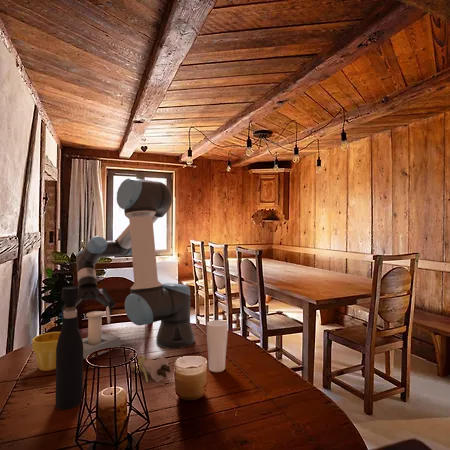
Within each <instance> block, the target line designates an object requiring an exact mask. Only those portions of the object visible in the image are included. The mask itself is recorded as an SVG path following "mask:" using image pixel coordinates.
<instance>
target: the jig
mask: <svg viewBox="0 0 450 450" xmlns="http://www.w3.org/2000/svg"><path fill="white" fill-rule="evenodd" d="M82 341H83V360H86V358H87V356H88V355H90V354H91V353H93V352H95V351H98V350H101V349H105V348H109V347H117V346H120V347H121V337H120V336H117V335H112V334H109V333H104V332H102V343H100V344H97V345H94V346H92V345H88V336H86V337H84V338H83V337H82ZM107 352H109V351H102V352H99V353H98V356H100V355H103V354H106V353H107ZM95 357H96V356H94V355H93V356H92V358H95Z"/></svg>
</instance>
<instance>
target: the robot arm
mask: <svg viewBox="0 0 450 450" xmlns="http://www.w3.org/2000/svg"><path fill="white" fill-rule="evenodd" d="M116 203H117V205H118V208H120V209H122V210H124V216H125V218H127V219H128V221H129V224H128V226H127V227H126V228H125V229H123V231H122V232H121V233H120V234H119V236H118V237H117V238H116V239H113V240H106V238H104V237H102V236H100V235H95V236H93V237H91V238H90V240H89V241H88V242H87V243H86V246H85V247H84V249H81V250H80V251H78V252H77V253H76V259H75V261H76V271H77V287H78V288H79V293H78V300H76V307H77V306H78V305H79V304H80V303H81V302H82V301H83V300H84V301H88V300H95V301H97V302H99V303H100V304H101V305H103V306H104V307H105V308H106V309H105V311H106V319H107V320H106V321H107V324H111V321H112V319H111V316H112V314H113V310H112V309H113V308H115V307H116V301H115V300H114V298H113V297H112V296H111V295H110V294H109V293H108V291H107V289H106V287H105V286H103V287H102V288H98V281H97V274H96V264H97V262H98V261H99V260H100V258H112V257H126V256H130V255H131V259H132V271H133V284H132V285H131V286H130V289H129V290H130V294H128V295H127V296H126V298H125V301H124V309H125V311H124V312H125V313H126V316H127V318H128V320H130V322H131V323H132V324H134V325H135V326H139V327H140V326H145V325H151V324H153V323H156V322H159V321H160V324H159V328H158V331H157V335H156V337H155V338H156V339H155V340H156V341H155V343H156V344H157V346H159V347H162V348H169V349H179V348H185V347H188V346H191V345H192V344H194V342H195V333H194V331H193V327H192V324H191V297H192V296H191V295H192V294H191V289H190V286H189V285H186V284H182V283H170V282H168V283H167V282H165V283H161V282H160V280H159V278H158V269H157V267H158V266H157V255H156V254H157V253H156V243H155V233H154V223H155V222H156V221H157V220H158V219H159V218H163V217H164V216H165V215H166V214H167V213H168V212H169V210H170V208H171V206H172V203H173V194H172V192H171V189H170V187H169V186H167V184H165V183H163V182H161V181H156V180H155V181H154V180H147V179H142V178H134V177H131V178H130V177H129V178H126V179H124V180H123V181H122V182H121V183H120V185H119V186H118V189H117V192H116ZM100 294H101V295H102V296H101V295H100ZM64 310H66V309H65V303H64V305H63V307H62V311H61V312H62V313H63V312H64Z"/></svg>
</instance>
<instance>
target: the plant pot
mask: <svg viewBox="0 0 450 450" xmlns="http://www.w3.org/2000/svg"><path fill="white" fill-rule="evenodd" d="M60 333H61V331H51V332H47V333H42V334H39V335H36V336H35V337H33V338H32V345H31V346H32V351H33V352H34V353H35V358H36V361H37V365H38V369H39V370H40V371H43V372H44V371H45V372H49V371H52V370H56V347H57V342H58V338H59V336H60Z"/></svg>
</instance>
